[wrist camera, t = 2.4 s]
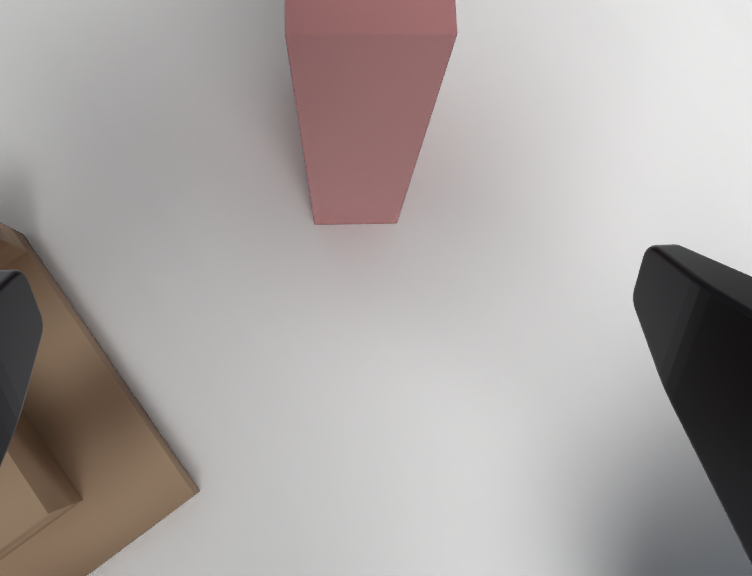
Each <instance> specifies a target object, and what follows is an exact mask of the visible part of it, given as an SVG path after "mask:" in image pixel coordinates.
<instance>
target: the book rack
mask: <svg viewBox="0 0 752 576" xmlns="http://www.w3.org/2000/svg"><path fill="white" fill-rule="evenodd" d="M0 270H19V271H21V272H23V273H24V274H25V275H26V277H27V279H28V280H29V283H30V286H31V288H32V291H33V294H34V297H35V299H36V302H37V305H38V307H39V310H40V313H41V316H42V320H43V333H42V337H41V341H40V344H39V348H38V352H37V356H36V359H35V363H34V367H33V370H32V374H31V378H30V382H29V385H28V389H27V393H26V397H25V400H24V404H23V408H22V411H21V414H20V417H19V421H18V424H17V426H16V429H15V432H14V434H13V437H12V440H11V442H10V444H9V447H8V449H7V452H6V454H5V457H4V459H3V462H2V464H1V467H0V576H87V575H88V574H90V573H91V572H92V571H94V570H95V569H96V568H98V567H99V566H100V565H102V564H103V563H104V562H106V561H107V560H108V559H110V558H111V557H112V556H114V555H115V554H116V553H118V552H119V551H120V550H122V549H123V548H124V547H126V546H127V545H129V544H130V543H131V542H133V541H134V540H135V539H137V538H138V537H139V536H141V535H142V534H143V533H145V532H146V531H147V530H149V529H150V528H151V527H153V526H154V525H155V524H157V523H158V522H159V521H161V520H162V519H163V518H165V517H166V516H167V515H169V514H170V513H171V512H173V511H174V510H175V509H177V508H178V507H179V506H181V505H182V504H183V503H185V502H186V501H187V500H189V499H190V498H191V497H193V496H194V495H195V494H197V493H198V492H199V489H198V488H197V487H196V485H195V484H194V482H193V481H192V479H191V478H190V476H189V475H188V473H187V472H186V471H185V469H184V468H183V466H182V465H181V463H180V462H179V460H178V459H177V457H176V456H175V455H174V453H173V452H172V450H171V449H170V447H169V446H168V444H167V443H166V441H165V440H164V439H163V437H162V436H161V434H160V433H159V431H158V430H157V428H156V427H155V425H154V424H153V423H152V421H151V420H150V418H149V417H148V415H147V414H146V412H145V411H144V409H143V408H142V407H141V405H140V404H139V402H138V401H137V399H136V398H135V396H134V395H133V393H132V392H131V391H130V389H129V388H128V386H127V385H126V383H125V382H124V380H123V379H122V377H121V376H120V375H119V373H118V372H117V370H116V369H115V367H114V366H113V364H112V363H111V361H110V360H109V359H108V357H107V356H106V354H105V353H104V351H103V350H102V348H101V347H100V345H99V344H98V343H97V341H96V340H95V338H94V337H93V335H92V334H91V332H90V331H89V330H88V328H87V327H86V325H85V324H84V322H83V321H82V319H81V318H80V316H79V315H78V314H77V312H76V311H75V309H74V308H73V306H72V305H71V303H70V302H69V300H68V299H67V298H66V296H65V295H64V293H63V292H62V290H61V289H60V287H59V286H58V284H57V283H56V282H55V280H54V279H53V277H52V276H51V274H50V273H49V271H48V270H47V268H46V267H45V266H44V264H43V263H42V261H41V260H40V258H39V257H38V255H37V254H36V252H35V251H34V250H33V248H32V247H31V245H30V244H29V242H28V241H27V239H26V238H25V236H24V235H23V234H22V233H20V232H18V231H16V230H14V229H12V228H10V227H8V226H6V225H4V224H2V223H0Z"/></svg>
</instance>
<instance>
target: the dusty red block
mask: <svg viewBox="0 0 752 576" xmlns="http://www.w3.org/2000/svg"><path fill="white" fill-rule="evenodd" d="M456 36H457V24H456V6H455V0H285V37H286V44H287V50H288V56H289V63H290V69H291V76H292V82H293V89H294V95H295V101H296V108H297V114H298V121H299V127H300V133H301V140H302V146H303V153H304V159H305V166H306V172H307V178H308V185H309V191H310V198H311V204H312V210H313V217H314V223H315V225H319V224H384V223H397V221H398V218H399V215H400V211H401V208H402V205H403V202H404V199H405V196H406V193H407V190H408V186H409V183H410V180H411V177H412V174H413V171H414V168H415V165H416V161H417V158H418V155H419V152H420V149H421V146H422V143H423V140H424V136H425V133H426V130H427V127H428V124H429V121H430V118H431V115H432V111H433V108H434V105H435V102H436V99H437V96H438V93H439V90H440V86H441V83H442V80H443V77H444V74H445V71H446V68H447V65H448V61H449V58H450V55H451V52H452V49H453V46H454V43H455V40H456Z"/></svg>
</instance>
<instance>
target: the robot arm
mask: <svg viewBox="0 0 752 576" xmlns="http://www.w3.org/2000/svg"><path fill="white" fill-rule="evenodd" d="M633 302H634V307H635V310H636V313H637V316H638V319H639V321H640V324H641V327H642V330H643V332H644V335H645V338H646V341H647V344H648V346H649V349H650V352H651V355H652V357H653V360H654V363H655V366H656V369H657V371H658V374H659V377H660V379H661V382H662V384H663V387H664V389H665V391H666V393H667V396H668V398H669V400H670V402H671V404H672V406H673V408H674V410H675V412H676V414H677V416H678V418H679V420H680V422H681V424H682V426H683V428H684V430H685V432H686V434H687V436H688V438H689V440H690V442H691V444H692V446H693V448H694V450H695V452H696V454H697V456H698V458H699V460H700V462H701V464H702V466H703V468H704V470H705V472H706V474H707V476H708V478H709V480H710V482H711V484H712V486H713V488H714V490H715V492H716V494H717V496H718V498H719V500H720V502H721V504H722V506H723V508H724V510H725V512H726V514H727V516H728V518H729V520H730V522H731V524H732V526H733V528H734V530H735V532H736V534H737V536H738V538H739V540H740V542H741V544H742V546H743V548H744V550H745V552H746V554H747V556H748V558H749V560H750V562H751V564H752V277H751V276H749V275H747V274H744V273H742V272H740V271H737V270H735V269H733V268H731V267H728V266H726V265H724V264H721V263H719V262H717V261H714V260H712V259H710V258H707V257H705V256H703V255H701V254H698V253H696V252H694V251H691V250H689V249H687V248H684V247H682V246H680V245H674V244H672V245H653V246H651V247H649V248H648V249H647V250H646V252H645V254H644V256H643V260H642V263H641V267H640V270H639V274H638V277H637V281H636V285H635V288H634V293H633ZM42 333H43V320H42V316H41V313H40V310H39V307H38V305H37V302H36V299H35V297H34V294H33V291H32V288H31V286H30V283H29V280H28V279H27V277H26V275H25V274H24V273H23V272H21V271H19V270H0V467H1V464H2V462H3V459H4V457H5V454H6V452H7V449H8V447H9V444H10V442H11V440H12V437H13V434H14V432H15V429H16V426H17V424H18V421H19V417H20V414H21V411H22V408H23V404H24V400H25V397H26V393H27V389H28V385H29V382H30V378H31V374H32V370H33V367H34V363H35V359H36V356H37V352H38V348H39V344H40V341H41V337H42Z"/></svg>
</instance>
